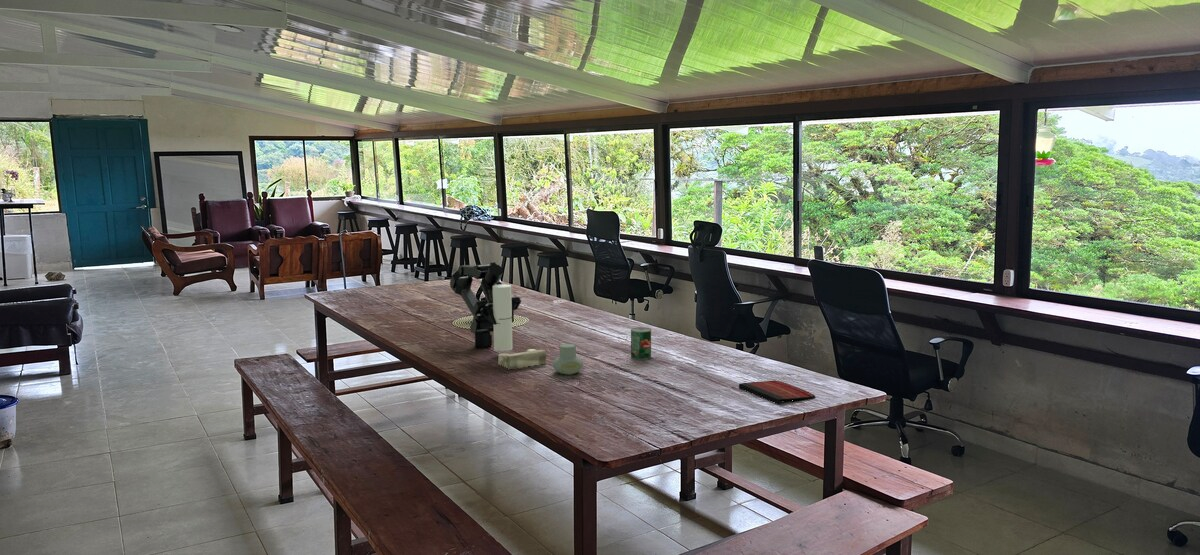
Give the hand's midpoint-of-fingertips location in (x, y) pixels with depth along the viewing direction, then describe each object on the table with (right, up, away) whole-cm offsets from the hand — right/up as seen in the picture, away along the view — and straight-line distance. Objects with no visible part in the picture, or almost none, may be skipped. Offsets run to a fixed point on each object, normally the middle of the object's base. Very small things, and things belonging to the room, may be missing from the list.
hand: (504, 323), depth 318 cm
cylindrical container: (-1, -11, +3) cm, 11 cm away
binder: (+95, -21, -49) cm, 109 cm away
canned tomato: (+53, -13, -1) cm, 55 cm away
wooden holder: (+8, -15, -10) cm, 20 cm away
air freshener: (+26, -17, -22) cm, 38 cm away
